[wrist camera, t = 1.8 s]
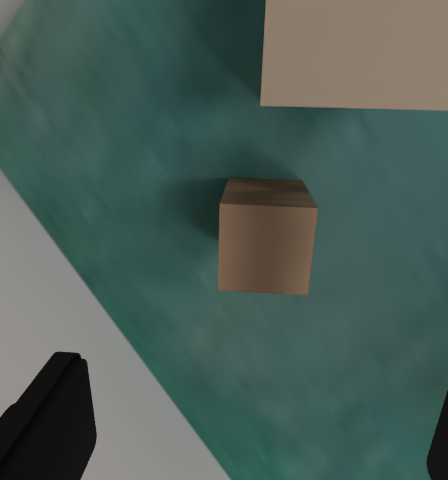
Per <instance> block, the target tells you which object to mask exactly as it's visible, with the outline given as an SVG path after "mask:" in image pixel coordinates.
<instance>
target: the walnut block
mask: <svg viewBox="0 0 448 480" xmlns="http://www.w3.org/2000/svg"><path fill="white" fill-rule="evenodd" d="M317 214H318V207H317V205H316V204H315V202H314V200H313V198H312V197H311V195H310V193H309V192H308V190H307V188H306V186H305V185H304V183H303V181H302V180H279V179H254V178H229V179H228V181H227V184H226V187H225V190H224V193H223V196H222V198H221V201H220V209H219V258H218V290H226V291H242V292H259V293H276V294H292V295H308V290H309V281H310V273H311V264H312V256H313V247H314V239H315V231H316V222H317Z"/></svg>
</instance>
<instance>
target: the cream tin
mask: <svg viewBox="0 0 448 480" xmlns="http://www.w3.org/2000/svg"><path fill="white" fill-rule="evenodd" d="M260 106H285V107H324V108H363V109H403V110H442V111H448V0H266V8H265V26H264V44H263V63H262V81H261V100H260Z"/></svg>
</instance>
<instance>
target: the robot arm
mask: <svg viewBox="0 0 448 480" xmlns="http://www.w3.org/2000/svg"><path fill="white" fill-rule="evenodd" d="M94 419H95V418H94V411H93V403H92V396H91V388H90V381H89V374H88V366H87V361H86V360H85V359H81V356H80V354H79V353H71V352H55V353H54V354H53V355H52V357H51V358H50V359H49V360H48V362H47V363H46V364H45V366H44V367H43V368H42V369H41V371H40V372H39V373H38V375H37V376H36V377H35V379H34V380H33V381H32V382H31V384H30V385H29V386H28V388H27V389H26V390H25V392H24V393H23V394H22V395H21V397H20V398H19V399H18V401H17V402H16V403H14V404H13V405H11V406H10V407H9V408H8V409H7V410H6V411H5V412H4V413H3V415H2V416H1V417H0V480H80V479H81V477H82V475H83V473H84V470H85V468H86V466H87V464H88V461H89V459H90V457H91V455H92V452H93V450H94V447H95V444H96V437H97V434H96V426H95V420H94ZM427 469H428V473H429V475H430V478H431V480H448V391H447V394H446V398H445V401H444V404H443V408H442V411H441V414H440V417H439V421H438V424H437V427H436V431H435V434H434V437H433V440H432V444H431V447H430V450H429V454H428V457H427Z"/></svg>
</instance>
